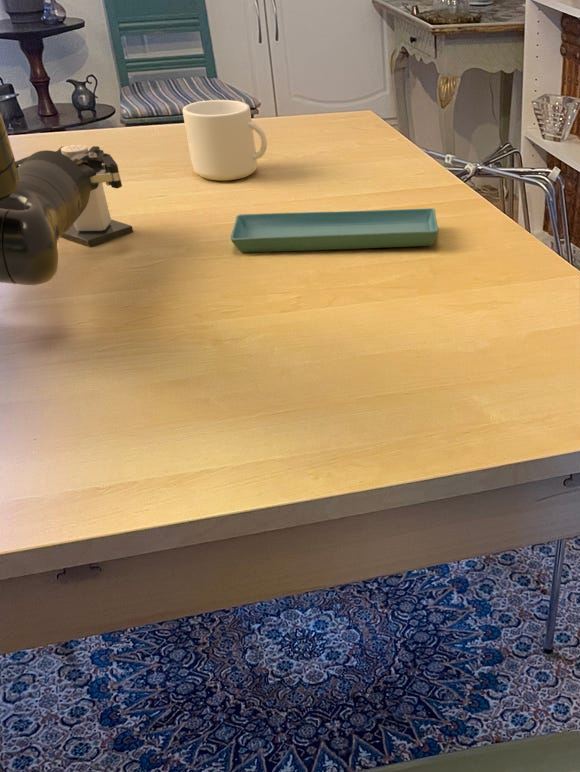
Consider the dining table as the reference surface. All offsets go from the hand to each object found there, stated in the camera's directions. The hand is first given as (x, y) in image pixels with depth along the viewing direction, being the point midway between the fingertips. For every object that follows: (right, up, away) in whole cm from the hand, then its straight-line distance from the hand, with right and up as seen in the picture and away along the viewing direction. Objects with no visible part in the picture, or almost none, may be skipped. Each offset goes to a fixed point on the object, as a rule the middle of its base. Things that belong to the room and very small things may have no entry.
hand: (82, 155), depth 120 cm
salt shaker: (0, -8, +3) cm, 9 cm away
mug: (+13, +9, +24) cm, 29 cm away
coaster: (0, -8, +4) cm, 9 cm away
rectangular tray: (+32, -10, +3) cm, 34 cm away
